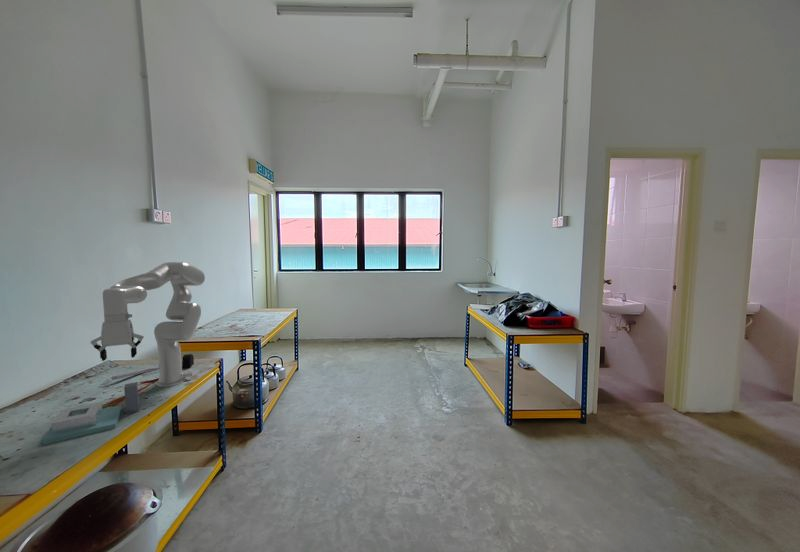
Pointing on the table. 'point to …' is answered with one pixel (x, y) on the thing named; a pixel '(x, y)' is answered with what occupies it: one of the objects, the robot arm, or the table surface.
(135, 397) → the key pin
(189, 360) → the tape measure
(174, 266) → the robot arm
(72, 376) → the table surface
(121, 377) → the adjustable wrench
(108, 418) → the chuck block
